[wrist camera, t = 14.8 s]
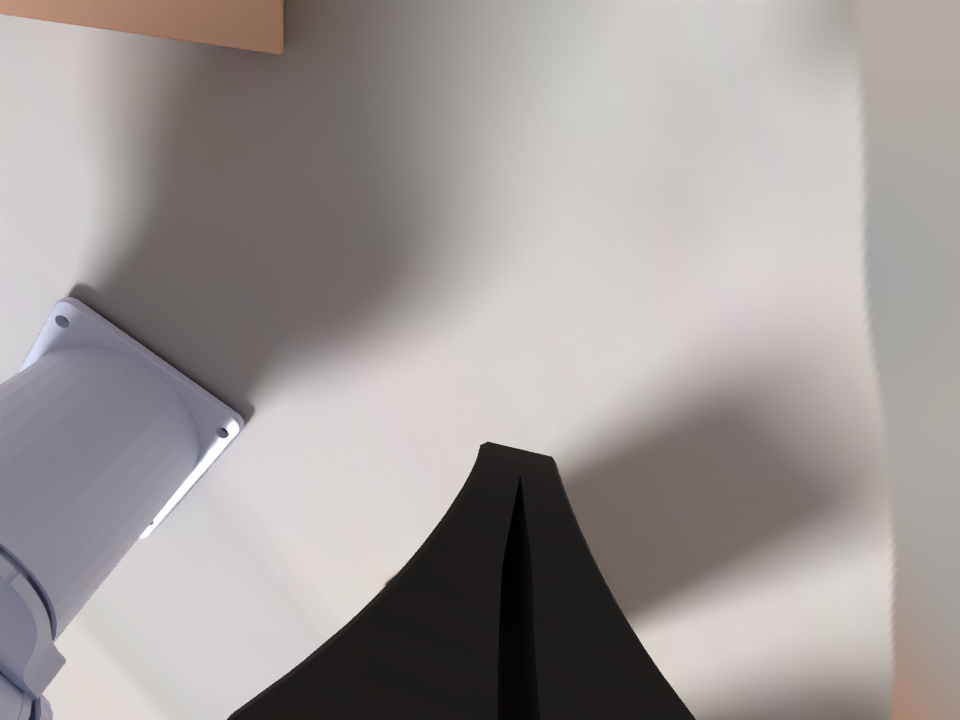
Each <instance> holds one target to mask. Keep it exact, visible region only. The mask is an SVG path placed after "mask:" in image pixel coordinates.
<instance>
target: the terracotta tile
mask: <svg viewBox="0 0 960 720" xmlns="http://www.w3.org/2000/svg"><path fill="white" fill-rule="evenodd" d="M0 14H4V15H11V16H18V17H25V18H32V19H38V20H45V21H52V22H59V23H66V24H73V25H80V26H87V27H94V28H100V29H107V30H114V31H121V32H128V33H135V34H142V35H149V36H156V37H162V38H169V39H176V40H183V41H190V42H197V43H204V44H211V45H217V46H224V47H231V48H238V49H245V50H252V51H259V52H266V53H273V54H279V55H282V52H283V50H284V0H0Z"/></svg>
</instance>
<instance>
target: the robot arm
mask: <svg viewBox="0 0 960 720" xmlns="http://www.w3.org/2000/svg"><path fill="white" fill-rule="evenodd" d="M63 316H64V317H65V318H66V319H67V320H68V321H69V322H67V321H66V320H65V319H64V317H63ZM243 426H244V420H243V418H242V417H241V416H240V415H239V414H238V413H237V412H235V411H234V410H233V409H231V408H230V407H228V406H227V405H226V404H224V403H223V402H221V401H220V400H219V399H217V398H216V397H214V396H213V395H212V394H210V393H209V392H207V391H206V390H205V389H203V388H202V387H200V386H199V385H197V384H196V383H195V382H193V381H192V380H190V379H189V378H188V377H186V376H185V375H183V374H182V373H181V372H179V371H178V370H176V369H175V368H174V367H172V366H171V365H169V364H168V363H166V362H165V361H164V360H162V359H161V358H159V357H158V356H157V355H155V354H154V353H152V352H151V351H150V350H148V349H147V348H145V347H144V346H143V345H141V344H140V343H138V342H137V341H135V340H134V339H133V338H131V337H130V336H128V335H127V334H126V333H124V332H123V331H121V330H120V329H119V328H117V327H116V326H114V325H113V324H112V323H110V322H109V321H107V320H106V319H105V318H103V317H102V316H100V315H99V314H97V313H96V312H95V311H93V310H92V309H90V308H89V307H88V306H86V305H85V304H83V303H82V302H81V301H79V300H77V299H75V298H73V297H65V298H63V299H61V300H59V301H58V302H57V303H56V304H55V306H54V308H53V309H52V311H51V313H50V315H49V317H48V319H47V320H46V322H45V324H44V326H43V328H42V329H41V331H40V333H39V335H38V337H37V339H36V340H35V342H34V344H33V346H32V348H31V349H30V351H29V353H28V355H27V357H26V358H25V360H24V362H23V364H22V366H21V368H20V369H19V371H18V373H17V374H16V375H15V376H13V377H12V378H10V379H9V380H7V381H5V382H4V383H2V384H1V385H0V720H53V712H52V709H51V705H50V703H49V701H48V700H47V699H46V698H45V697H44V696H43V695H42V693H43V691H44V690H45V689H46V688H47V686H48V685H49V684H50V682H51V681H52V680H53V678H54V677H55V676H56V674H57V673H58V672H59V671H60V669H61V668H62V667H63V665H64V664H65V663H66V659H65V658H64V657H63V656H62V654H61V653H60V652H59V651H58V650H57V648H56V647H55V645H54V642H55V641H56V639H57V638H58V637H59V636H60V634H61V633H62V632H63V631H64V629H65V628H66V627H67V626H68V625H69V623H70V622H71V621H72V620H73V618H74V617H75V616H76V615H77V613H78V612H79V611H80V610H81V609H82V607H83V606H84V605H85V604H86V602H87V601H88V600H89V599H90V597H91V596H92V595H93V594H94V592H95V591H96V590H97V589H98V588H99V586H100V585H101V584H102V583H103V581H104V580H105V579H106V578H107V576H108V575H109V574H110V573H111V571H112V570H113V569H114V568H115V567H116V565H117V564H118V563H119V562H120V560H121V559H122V558H123V557H124V555H125V554H126V553H127V552H128V550H129V549H130V548H131V547H132V546H133V544H134V543H135V542H136V541H137V539H138V538H139V539H146V538H148V537H149V536H150V535H151V534H152V532H153V531H154V530H155V529H156V528H157V527H158V525H159V524H160V523H161V522H162V521H163V520H164V519H165V517H166V516H167V515H168V514H169V513H170V512H171V511H172V509H173V508H174V507H175V506H176V505H177V504H178V502H179V501H180V500H181V499H182V498H183V497H184V496H185V494H186V493H187V492H188V491H189V490H190V489H191V487H192V486H193V485H194V484H195V483H196V482H197V481H198V479H199V478H200V477H201V476H202V475H203V474H204V473H205V471H206V470H207V469H208V468H209V467H210V466H211V464H212V463H213V462H214V461H215V460H216V459H217V458H218V456H219V455H220V454H221V453H222V452H223V451H224V449H225V448H226V447H227V446H228V445H229V444H230V443H231V441H232V440H233V439H234V438H235V437H236V436H237V435H238V433H239V432H240V431H241V430H242V428H243ZM221 428H224V429H226V430H227V431H228V432H225V431H223V430H222V429H221ZM227 720H696V719H695V718H694V716H693V715H692V714H691V712H690V711H689V710H688V708H687V707H686V706H685V704H684V703H683V702H682V700H681V699H680V698H679V696H678V695H677V694H676V692H675V691H674V690H673V688H672V687H671V686H670V684H669V683H668V682H667V680H666V679H665V678H664V676H663V675H662V674H661V672H660V671H659V669H658V668H657V666H656V665H655V663H654V662H653V660H652V659H651V657H650V656H649V654H648V653H647V651H646V650H645V648H644V647H643V645H642V644H641V642H640V641H639V639H638V637H637V636H636V634H635V633H634V631H633V629H632V628H631V626H630V624H629V623H628V621H627V620H626V618H625V616H624V614H623V613H622V611H621V609H620V608H619V606H618V604H617V602H616V600H615V599H614V597H613V595H612V593H611V591H610V589H609V587H608V586H607V584H606V582H605V580H604V578H603V576H602V574H601V572H600V570H599V568H598V566H597V564H596V562H595V560H594V558H593V556H592V554H591V552H590V549H589V547H588V545H587V543H586V541H585V538H584V536H583V534H582V532H581V529H580V527H579V525H578V523H577V520H576V518H575V515H574V513H573V510H572V508H571V505H570V503H569V500H568V497H567V495H566V492H565V489H564V487H563V484H562V481H561V478H560V475H559V472H558V468H557V465H556V463H555V461H554V459H553V458H552V457H551V456H546V455H542V454H538V453H533V452H529V451H525V450H521V449H516V448H512V447H508V446H504V445H499V444H495V443H491V442H486V443H484V444H482V445H480V449H479V453H478V457H477V459H476V462H475V464H474V467H473V469H472V471H471V473H470V475H469V477H468V478H467V480H466V482H465V484H464V486H463V487H462V489H461V491H460V492H459V494H458V495H457V497H456V498H455V500H454V502H453V503H452V505H451V506H450V508H449V509H448V511H447V512H446V514H445V515H444V517H443V518H442V519H441V521H440V522H439V523H438V525H437V526H436V527H435V529H434V530H433V531H432V533H431V534H430V535H429V537H428V538H427V539H426V541H425V542H424V543H423V545H422V546H421V547H420V548H419V549H418V551H417V552H416V553H415V554H414V555H413V557H412V558H411V559H410V560H409V561H408V562H407V564H406V565H405V566H404V567H403V568H402V569H401V570H400V571H399V572H398V574H397V575H396V576H395V577H394V578H393V579H392V580H391V581H390V582H389V583H388V584H387V585H386V586H385V587H384V588H383V589H382V590H381V591H380V592H379V593H378V594H377V595H376V596H375V597H374V598H373V599H372V600H371V601H370V602H369V603H368V604H367V605H366V606H365V607H364V608H363V609H362V610H361V611H360V612H359V613H358V614H357V615H356V616H355V617H354V618H353V619H352V620H351V621H349V622H348V623H347V624H346V625H345V626H344V627H343V628H342V629H340V630H339V631H338V632H337V633H336V634H334V635H333V636H332V637H331V638H330V639H329V640H327V641H326V642H325V643H324V644H323V645H321V646H320V647H319V648H318V649H317V650H316V651H314V652H313V653H312V654H311V655H310V656H308V657H307V658H306V659H305V660H304V661H303V662H301V663H300V664H299V665H297V666H296V667H295V668H294V669H292V670H291V671H290V672H288V673H287V674H286V675H284V676H283V677H282V678H280V679H279V680H278V681H276V682H275V683H273V684H272V685H271V686H269V687H268V688H267V689H265V690H264V691H262V692H261V693H260V694H258V695H257V696H256V697H254V698H253V699H252V700H250V701H249V702H247V703H246V704H245V705H243V706H242V707H241V708H239V709H238V710H236V711H235V712H234V713H233V714H231V715H230V717H229V718H228V719H227Z"/></svg>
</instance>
